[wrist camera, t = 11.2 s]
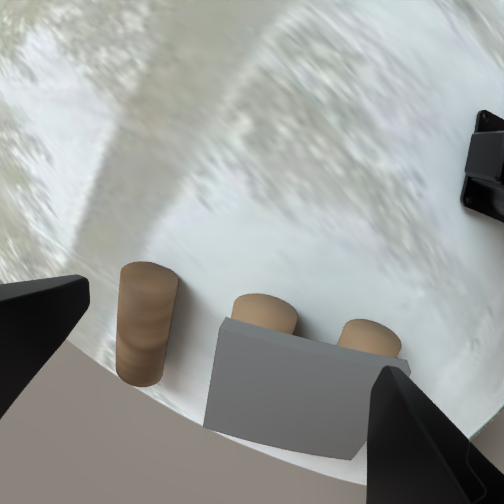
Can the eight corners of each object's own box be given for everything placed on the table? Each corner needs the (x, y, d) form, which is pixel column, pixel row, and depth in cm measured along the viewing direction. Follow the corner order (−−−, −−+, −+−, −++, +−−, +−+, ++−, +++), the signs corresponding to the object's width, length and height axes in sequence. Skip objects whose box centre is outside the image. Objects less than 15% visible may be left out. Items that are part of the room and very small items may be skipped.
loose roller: (186, 273, 22) (164, 299, 18) (169, 363, 25) (151, 394, 21) (137, 256, 22) (109, 277, 18) (128, 346, 25) (107, 373, 22)
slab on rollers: (395, 326, 20) (411, 372, 15) (349, 412, 23) (351, 460, 18) (242, 287, 21) (219, 327, 16) (222, 382, 24) (202, 427, 19)
